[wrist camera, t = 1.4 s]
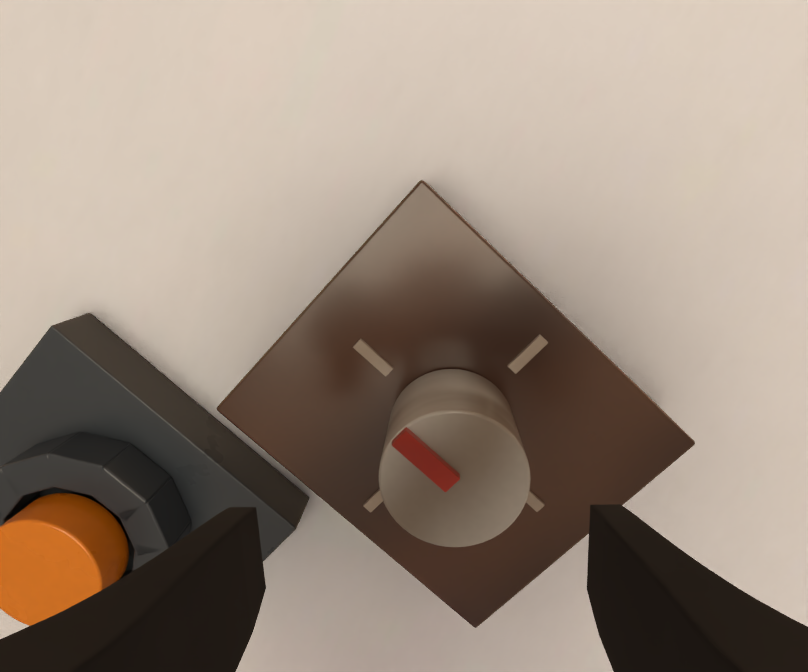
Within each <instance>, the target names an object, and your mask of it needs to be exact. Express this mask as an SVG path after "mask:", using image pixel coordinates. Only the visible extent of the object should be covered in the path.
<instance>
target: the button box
mask: <svg viewBox="0 0 808 672" xmlns="http://www.w3.org/2000/svg"><path fill="white" fill-rule="evenodd" d="M55 493H71V494H77V495H80V496H84V497H86V498H89V499H91V500H93V501H95V502H97V503H99V504H100V505H102V506H103V507H104V508H106V509H107V510H108V511H109V512H110V513H111V514H112V515H113V516H114V517H115V518H116V519H117V521H118V522H119V524H120V525H121V527H122V529H123V530H124V533H125V535H126V538H127V541H128V546H129V559H128V564H127V568H126V570H125V572H124V574H123V576H122V578H123V577H124V576H126V575H128V574H129V573H131V572H132V571H134V570H135V569H137V568H139V567H140V566H142V565H143V564H145V563H146V562H148V561H150V560H151V559H153V558H154V557H156V556H157V555H159V554H160V553H162V552H163V551H165V550H166V549H168V548H169V547H171V546H172V545H174V544H175V543H176V542H178V541H179V540H181V539H182V538H184V537H185V536H187V535H188V534H189V533H191V532H192V531H194V530H195V529H197V528H198V527H199V526H201V525H202V524H204V523H205V522H207V521H208V520H210V519H211V518H213V517H214V516H216V515H217V514H219V513H220V512H222V511H224V510H225V509H227V508H229V507H256V510H257V518H258V527H259V535H260V543H261V552H262V560H263V561H264V560H265V559H266V558H267V557H268V556H269V555H270V554H271V553H272V552H273V551H274V550H275V549H276V548H277V547H278V546H279V545H280V544H281V543H282V542H283V541H284V540H285V539H286V538H287V537H288V536H289V535H290V534H291V533H292V532H293V531H294V530H295V529H296V528H297V525H298V523H299V521H300V518H301V516H302V514H303V511H304V509H305V507H306V504H307V502H308V500H309V497H308V496H307V495H305V494H304V493H303V492H302V491H301V490H299V489H298V488H297V487H296V486H295V485H294V484H292V483H291V482H290V481H289V480H288V479H286V478H285V477H284V476H283V475H282V474H280V473H279V472H278V471H277V470H276V469H275V468H273V467H272V466H271V465H270V464H269V463H267V462H266V461H265V460H264V459H263V458H261V457H260V456H259V455H258V454H257V453H255V452H254V451H253V450H252V449H251V448H250V447H248V446H247V445H246V444H245V443H244V442H242V441H241V440H240V439H239V438H238V437H236V436H235V435H234V434H233V433H232V432H231V431H229V430H228V429H227V428H226V427H225V426H223V425H222V424H221V423H220V422H219V421H217V420H216V419H215V418H214V417H213V416H211V415H210V414H209V413H208V412H207V411H206V410H204V409H203V408H202V407H201V406H200V405H198V404H197V403H196V402H195V401H194V400H192V399H191V398H190V397H189V396H188V395H187V394H185V393H184V392H183V391H182V390H181V389H179V388H178V387H177V386H176V385H175V384H173V383H172V382H171V381H170V380H169V379H167V378H166V377H165V376H164V375H163V374H162V373H160V372H159V371H158V370H157V369H156V368H154V367H153V366H152V365H151V364H150V363H148V362H147V361H146V360H145V359H144V358H143V357H141V356H140V355H139V354H138V353H137V352H135V351H134V350H133V349H132V348H131V347H129V346H128V345H127V344H126V343H125V342H123V341H122V340H121V339H120V338H119V337H118V336H116V335H115V334H114V333H113V332H112V331H110V330H109V329H108V328H107V327H106V326H104V325H103V324H102V323H101V322H100V321H99V320H97V319H96V318H95V317H94V316H93V315H91V314H90V313H88V314H85V315H82V316H79V317H76V318H73V319H70V320H67V321H64V322H61V323H58V324H55V325H53V326H51V327H50V328H49V330H48V331H47V332H46V334H45V335H44V336H43V338H42V339H41V340H40V341H39V343H38V344H37V345H36V347H35V348H34V349H33V351H32V352H31V353H30V354H29V356H28V357H27V358H26V360H25V361H24V362H23V364H22V365H21V366H20V368H19V369H18V370H17V371H16V373H15V374H14V375H13V377H12V378H11V379H10V381H9V382H8V383H7V384H6V386H5V387H4V388H3V390H2V391H1V392H0V526H1V525H3V524H4V523H5V522H7V521H8V520H9V519H10V518H12V517H13V516H14V515H16V514H17V513H18V512H20V511H21V510H22V509H24V508H25V507H26V506H28V505H29V504H30V503H32V502H33V501H34V500H36V499H38V498H40V497H43V496H46V495H50V494H55Z"/></svg>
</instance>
